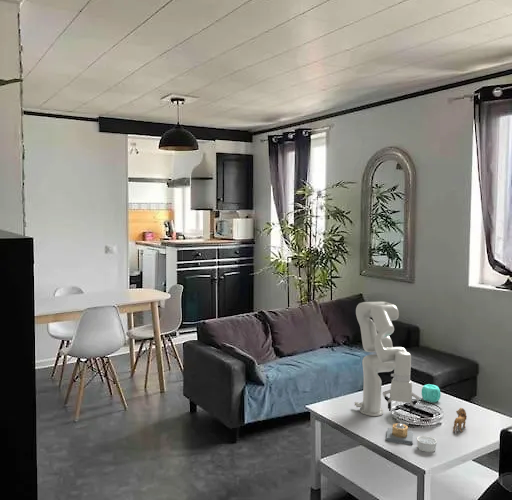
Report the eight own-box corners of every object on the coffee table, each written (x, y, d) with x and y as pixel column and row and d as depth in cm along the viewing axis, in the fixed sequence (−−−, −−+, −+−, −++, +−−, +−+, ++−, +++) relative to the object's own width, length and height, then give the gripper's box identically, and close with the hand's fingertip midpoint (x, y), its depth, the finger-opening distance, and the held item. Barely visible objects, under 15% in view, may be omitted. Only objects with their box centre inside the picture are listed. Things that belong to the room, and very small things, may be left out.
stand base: (386, 440, 254) (386, 437, 254) (387, 430, 265) (387, 427, 265) (412, 444, 250) (412, 441, 250) (412, 434, 262) (413, 431, 262)
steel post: (395, 435, 256) (395, 425, 256) (395, 432, 260) (396, 422, 260) (404, 436, 255) (404, 426, 255) (404, 433, 259) (404, 423, 259)
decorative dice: (433, 397, 313) (434, 384, 312) (440, 402, 305) (441, 388, 304) (421, 397, 312) (421, 384, 311) (427, 402, 304) (427, 389, 303)
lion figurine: (455, 422, 276) (456, 405, 276) (466, 424, 274) (467, 407, 273) (451, 433, 264) (452, 415, 263) (463, 435, 261) (464, 417, 260)
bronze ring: (392, 436, 255) (392, 428, 255) (392, 430, 262) (393, 422, 262) (407, 438, 253) (407, 430, 253) (407, 432, 260) (407, 424, 260)
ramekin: (426, 443, 252) (426, 434, 252) (440, 450, 245) (441, 441, 244) (412, 446, 248) (412, 437, 248) (426, 454, 240) (427, 445, 240)
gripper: (382, 377, 254) (381, 411, 256) (420, 382, 249) (418, 417, 251) (384, 372, 262) (382, 406, 263) (420, 377, 256) (418, 411, 258)
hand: (400, 411), depth 257 cm, fingers open, 9 cm apart
